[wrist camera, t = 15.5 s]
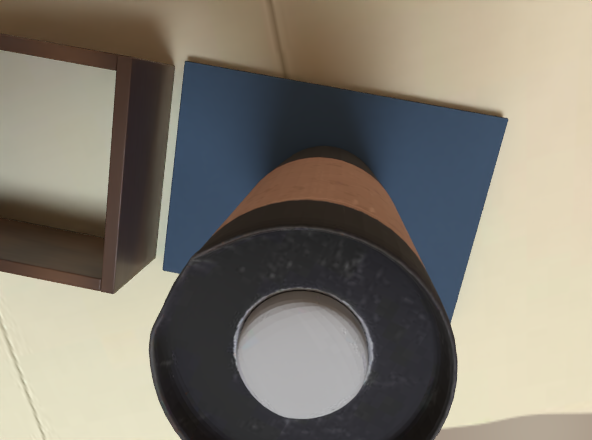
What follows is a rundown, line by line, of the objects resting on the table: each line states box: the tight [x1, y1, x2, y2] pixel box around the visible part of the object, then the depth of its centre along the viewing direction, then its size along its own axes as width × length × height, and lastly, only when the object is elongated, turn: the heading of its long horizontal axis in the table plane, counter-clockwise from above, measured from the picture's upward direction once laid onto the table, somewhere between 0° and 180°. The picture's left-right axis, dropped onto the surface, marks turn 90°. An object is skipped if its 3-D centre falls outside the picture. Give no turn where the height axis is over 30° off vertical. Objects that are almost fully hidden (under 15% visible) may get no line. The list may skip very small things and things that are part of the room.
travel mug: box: [149, 146, 457, 440], centre depth 21 cm, size 8×8×20 cm
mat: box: [163, 61, 508, 323], centre depth 31 cm, size 20×14×1 cm
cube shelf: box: [0, 34, 175, 294], centre depth 29 cm, size 13×13×6 cm
